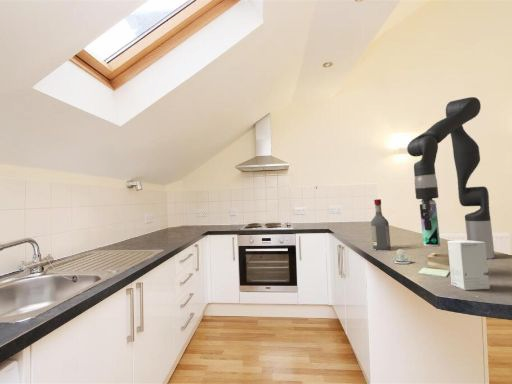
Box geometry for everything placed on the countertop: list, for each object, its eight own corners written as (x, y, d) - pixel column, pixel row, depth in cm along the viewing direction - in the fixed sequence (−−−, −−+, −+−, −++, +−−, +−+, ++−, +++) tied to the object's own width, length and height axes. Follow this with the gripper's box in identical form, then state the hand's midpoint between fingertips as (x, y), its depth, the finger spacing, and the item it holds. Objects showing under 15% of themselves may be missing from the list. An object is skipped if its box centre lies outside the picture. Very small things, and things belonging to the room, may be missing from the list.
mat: (423, 268, 106) (423, 267, 106) (449, 271, 100) (449, 270, 100) (417, 273, 100) (417, 272, 100) (446, 277, 93) (446, 275, 93)
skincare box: (464, 290, 79) (459, 242, 80) (450, 284, 85) (445, 240, 86) (491, 289, 79) (486, 241, 80) (475, 283, 85) (470, 238, 86)
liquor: (389, 248, 155) (385, 199, 156) (391, 250, 146) (386, 198, 148) (372, 247, 158) (368, 199, 160) (373, 250, 149) (369, 199, 151)
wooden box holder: (433, 264, 112) (432, 252, 113) (460, 266, 106) (459, 254, 106) (428, 268, 105) (427, 256, 106) (457, 272, 99) (456, 259, 99)
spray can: (424, 244, 104) (419, 195, 105) (440, 244, 101) (435, 194, 102) (422, 246, 100) (417, 195, 101) (439, 247, 96) (434, 194, 98)
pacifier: (412, 265, 114) (409, 261, 119) (410, 251, 114) (408, 248, 119) (393, 264, 116) (392, 261, 122) (392, 251, 117) (391, 248, 122)
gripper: (419, 188, 109) (423, 227, 108) (410, 187, 99) (414, 231, 98) (440, 186, 104) (444, 227, 103) (433, 185, 94) (438, 231, 93)
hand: (430, 229), depth 101 cm, fingers closed on spray can, 5 cm apart
